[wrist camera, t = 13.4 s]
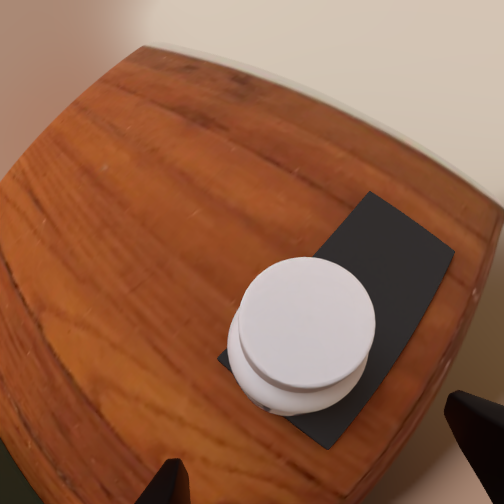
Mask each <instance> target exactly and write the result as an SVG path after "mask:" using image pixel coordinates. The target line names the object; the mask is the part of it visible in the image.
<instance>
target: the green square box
mask: <svg viewBox="0 0 504 504" xmlns="http://www.w3.org/2000/svg"><path fill="white" fill-rule="evenodd" d="M0 504H44V503H43V502H42V501H41V499H40V498H39V497H38V495H37V494H36V493H35V491H34V490H33V489H32V487H31V486H30V484H29V483H28V482H27V480H26V479H25V477H24V476H23V474H22V473H21V471H20V470H19V468H18V467H17V465H16V464H15V462H14V461H13V459H12V457H11V456H10V454H9V452H8V451H7V449H6V447H5V446H4V444H3V442H2V440H1V439H0Z"/></svg>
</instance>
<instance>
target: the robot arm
mask: <svg viewBox="0 0 504 504" xmlns="http://www.w3.org/2000/svg"><path fill="white" fill-rule="evenodd" d="M444 415H445V418H446V420H447V422H448V424H449V426H450V428H451V430H452V432H453V434H454V437H455V439H456V441H457V443H458V445H459V447H460V449H461V450H462V452H463V453H464V455H465V457H466V458H467V460H468V462H469V463H470V465H471V467H472V468H473V470H474V472H475V473H476V475H477V477H478V478H479V480H480V482H481V483H482V485H483V487H484V489H485V490H486V492H487V494H488V496H489V497H490V499H491V501H492V503H493V504H504V406H503V405H500V404H497V403H494V402H491V401H489V400H486V399H483V398H480V397H477V396H475V395H472V394H469V393H466V392H463V391H460V390H457V391H455V392H453V393H450V394H449V396H448V398H447V402H446V405H445V409H444ZM134 504H190V489H189V476H188V473H187V471H186V469H185V467H184V465H183V462H182V461H181V459H179V458H174V459H167V460H166V461H165V463H164V464H163V465H162V467H161V468H160V469H159V471H158V472H157V474H156V475H155V476H154V478H153V479H152V480H151V482H150V483H149V485H148V486H147V487H146V489H145V490H144V491H143V493H142V494H141V495H140V497H139V498H138V499H137V501H136V502H135V503H134Z"/></svg>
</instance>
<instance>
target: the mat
mask: <svg viewBox="0 0 504 504" xmlns="http://www.w3.org/2000/svg"><path fill="white" fill-rule="evenodd" d="M454 253H455V251H454V250H452V249H451V248H450V247H449V246H447V245H446V244H445V243H443V242H442V241H441V240H439V239H438V238H437V237H435V236H434V235H433V234H431V233H430V232H429V231H427V230H426V229H425V228H423V227H422V226H420V225H419V224H418V223H416V222H415V221H414V220H412V219H411V218H409V217H408V216H406V215H405V214H404V213H402V212H401V211H399V210H398V209H396V208H395V207H393V206H392V205H390V204H389V203H387V202H386V201H384V200H383V199H381V198H380V197H378V196H377V195H375V194H374V193H372V192H371V191H369V192H368V193H367V195H366V196H365V197H364V198H363V199H362V201H361V202H360V203H359V204H358V205H357V206H356V208H355V209H354V210H353V211H352V212H351V213H350V215H349V216H348V217H347V218H346V219H345V220H344V221H343V223H342V224H341V225H340V226H339V227H338V228H337V230H336V231H335V232H334V233H333V234H332V235H331V236H330V238H329V239H328V240H327V241H326V242H325V243H324V244H323V245H322V247H321V248H320V249H319V250H318V251H317V252H316V253H315V254H314V256H313V257H312V258H320V259H323V260H327V261H330V262H333V263H335V264H337V265H339V266H341V267H343V268H344V269H346V270H347V271H349V272H350V273H351V274H352V275H353V276H355V277H356V279H357V280H358V281H359V282H360V283H361V284H362V286H363V287H364V288H365V290H366V291H367V293H368V295H369V297H370V300H371V302H372V305H373V308H374V313H375V335H374V339H373V343H372V345H371V348H370V350H369V353H368V359H367V363H366V366H365V369H364V371H363V373H362V375H361V377H360V379H359V381H358V382H357V384H356V385H355V386H354V387H353V389H352V390H351V391H350V392H349V393H348V394H347V395H346V396H345V397H343V398H342V399H341V400H340V401H338V402H337V403H335V404H333V405H332V406H330V407H327V408H325V409H322V410H319V411H316V412H311V413H305V414H301V415H294V416H283V417H285V418H286V419H287V420H288V421H290V422H291V423H292V424H293V425H295V426H296V427H297V428H299V429H300V430H301V431H302V432H304V433H305V434H306V435H308V436H309V437H310V438H312V439H313V440H314V441H316V442H317V443H318V444H320V445H321V446H322V447H324V448H325V449H327V450H329V449H330V448H331V446H332V445H333V444H334V443H335V442H336V441H337V439H338V438H339V437H340V436H341V435H342V433H343V432H344V431H345V430H346V428H347V427H348V426H349V425H350V424H351V422H352V421H353V420H354V418H355V417H356V416H357V415H358V413H359V412H360V411H361V409H362V408H363V407H364V405H365V404H366V403H367V401H368V400H369V399H370V397H371V396H372V395H373V393H374V392H375V390H376V389H377V388H378V386H379V385H380V383H381V382H382V381H383V379H384V378H385V376H386V375H387V373H388V372H389V370H390V369H391V367H392V366H393V364H394V363H395V361H396V360H397V358H398V357H399V355H400V353H401V352H402V350H403V349H404V347H405V345H406V344H407V342H408V340H409V339H410V337H411V336H412V334H413V332H414V330H415V329H416V327H417V325H418V324H419V322H420V320H421V318H422V317H423V315H424V313H425V311H426V309H427V307H428V306H429V304H430V302H431V300H432V298H433V296H434V294H435V292H436V290H437V289H438V287H439V285H440V283H441V281H442V279H443V277H444V274H445V272H446V270H447V268H448V266H449V264H450V262H451V260H452V257H453V255H454ZM217 359H218V361H219V362H221V363H222V364H223V365H224V366H225V367H226V368H227V369H228V370H229V371H230V372H232V370H231V366H230V362H229V357H228V349H227V348H226V349H225V350H224V351H223V352H222V353H221V354H220V356H219V357H218V358H217ZM232 373H233V372H232Z"/></svg>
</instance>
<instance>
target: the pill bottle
mask: <svg viewBox="0 0 504 504" xmlns="http://www.w3.org/2000/svg"><path fill="white" fill-rule="evenodd" d="M374 335H375V313H374V308H373V305H372V302H371V300H370V297H369V295H368V293H367V291H366V290H365V288H364V287H363V286H362V284H361V283H360V282H359V281H358V280H357V279H356V277H355V276H353V275H352V274H351V273H350V272H349V271H347V270H346V269H344V268H343V267H341V266H339V265H337V264H335V263H333V262H330V261H327V260H323V259H320V258H310V257H299V258H292V259H287V260H284V261H281V262H278V263H276V264H274V265H272V266H270V267H269V268H267V269H266V270H264V271H263V272H262V273H260V274H259V275H258V276H257V277H256V278H255V279H254V280H253V282H252V283H251V284H250V285H249V287H248V289H247V290H246V292H245V294H244V296H243V299H242V301H241V304H240V307H239V309H238V310H237V312H236V314H235V316H234V318H233V320H232V323H231V326H230V330H229V334H228V346H227V349H228V357H229V362H230V366H231V370H232V372H233V375H234V377H235V379H236V381H237V383H238V384H239V386H240V387H241V389H242V390H243V391H244V393H245V394H246V395H247V397H248V398H249V399H250V400H251V401H252V402H253V403H254V404H255V405H256V406H258V407H259V408H261V409H263V410H265V411H267V412H270V413H273V414H276V415H282V416H294V415H301V414H305V413H311V412H316V411H319V410H322V409H325V408H327V407H330V406H332V405H333V404H335V403H337V402H338V401H340V400H341V399H342V398H343V397H345V396H346V395H347V394H348V393H349V392H350V391H351V390H352V389H353V387H354V386H355V385H356V384H357V382H358V381H359V379H360V377H361V375H362V373H363V371H364V369H365V366H366V363H367V359H368V353H369V350H370V348H371V345H372V343H373V339H374Z"/></svg>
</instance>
